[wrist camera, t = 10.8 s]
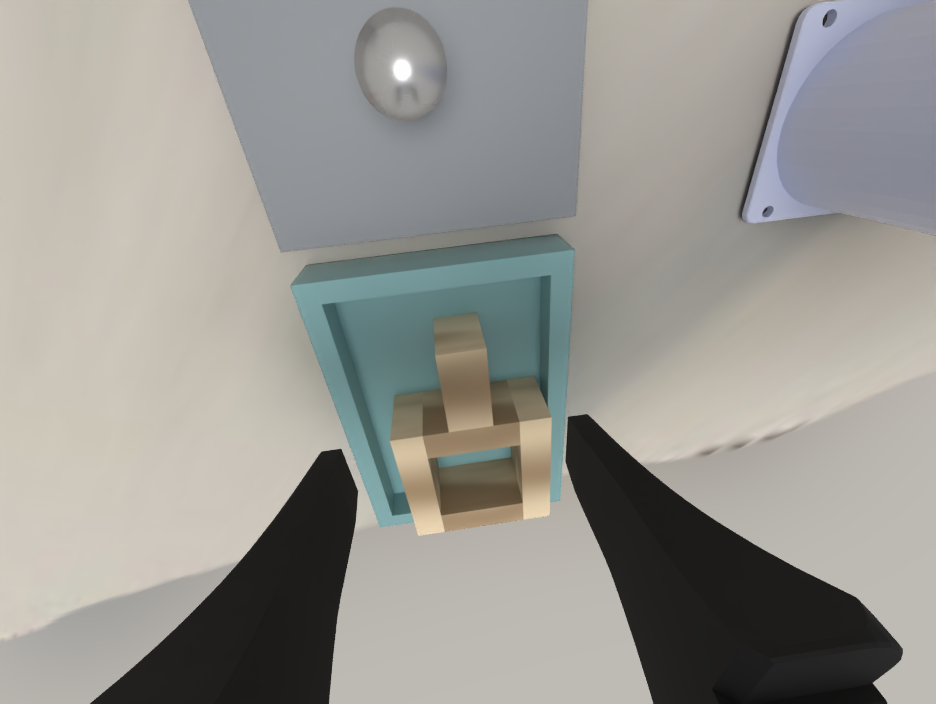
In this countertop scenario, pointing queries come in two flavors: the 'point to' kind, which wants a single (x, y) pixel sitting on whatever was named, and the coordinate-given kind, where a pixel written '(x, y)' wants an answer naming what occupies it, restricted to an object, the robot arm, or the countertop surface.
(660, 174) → the countertop surface
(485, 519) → the maple collar
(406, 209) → the board
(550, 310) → the tray
